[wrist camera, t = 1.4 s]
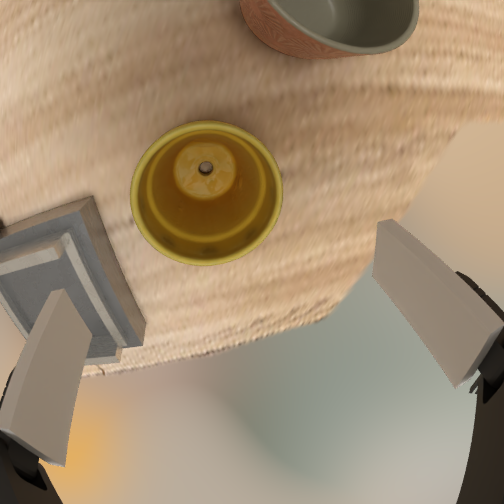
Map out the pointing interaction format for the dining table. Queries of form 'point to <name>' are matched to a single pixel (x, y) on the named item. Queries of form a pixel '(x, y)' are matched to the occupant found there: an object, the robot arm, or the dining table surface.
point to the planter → (331, 25)
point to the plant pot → (206, 193)
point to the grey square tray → (70, 277)
